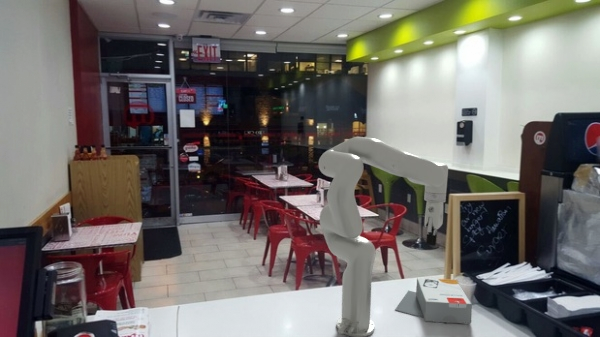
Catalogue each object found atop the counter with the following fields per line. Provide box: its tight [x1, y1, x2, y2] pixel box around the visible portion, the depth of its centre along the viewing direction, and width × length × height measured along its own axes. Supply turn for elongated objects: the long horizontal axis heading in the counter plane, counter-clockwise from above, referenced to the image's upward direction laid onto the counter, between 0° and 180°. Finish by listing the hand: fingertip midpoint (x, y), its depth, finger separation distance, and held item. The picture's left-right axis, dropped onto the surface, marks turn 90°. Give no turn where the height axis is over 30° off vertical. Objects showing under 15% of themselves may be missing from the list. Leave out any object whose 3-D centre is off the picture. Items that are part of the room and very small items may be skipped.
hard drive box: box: [415, 277, 473, 324], centre depth 147 cm, size 16×8×20 cm
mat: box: [394, 290, 448, 325], centre depth 150 cm, size 18×18×1 cm
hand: (431, 244), depth 151 cm, fingers closed
